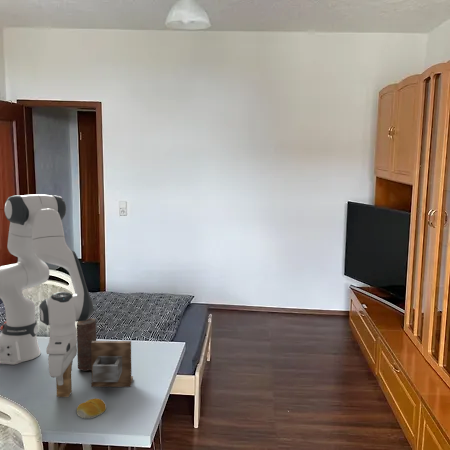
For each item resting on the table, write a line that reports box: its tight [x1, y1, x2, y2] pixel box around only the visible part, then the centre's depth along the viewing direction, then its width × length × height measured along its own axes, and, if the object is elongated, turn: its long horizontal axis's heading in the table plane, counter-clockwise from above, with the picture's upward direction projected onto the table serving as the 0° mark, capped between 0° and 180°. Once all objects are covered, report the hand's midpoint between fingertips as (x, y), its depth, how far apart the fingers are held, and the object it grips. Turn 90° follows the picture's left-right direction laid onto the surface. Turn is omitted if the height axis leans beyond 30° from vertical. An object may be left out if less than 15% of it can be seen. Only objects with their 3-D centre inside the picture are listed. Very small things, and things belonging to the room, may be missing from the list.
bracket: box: [91, 340, 134, 388], centre depth 173 cm, size 14×15×16 cm
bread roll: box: [76, 397, 107, 420], centre depth 158 cm, size 8×9×4 cm
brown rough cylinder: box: [76, 317, 97, 372], centre depth 188 cm, size 8×7×20 cm
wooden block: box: [55, 363, 73, 398], centre depth 169 cm, size 4×4×12 cm
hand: (64, 378), depth 169 cm, fingers open, 8 cm apart
